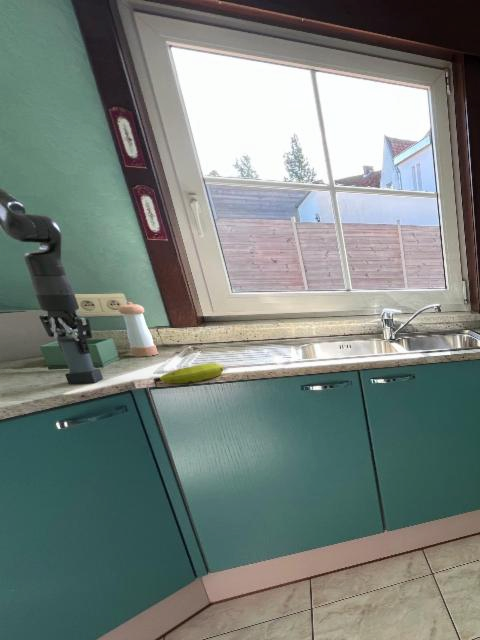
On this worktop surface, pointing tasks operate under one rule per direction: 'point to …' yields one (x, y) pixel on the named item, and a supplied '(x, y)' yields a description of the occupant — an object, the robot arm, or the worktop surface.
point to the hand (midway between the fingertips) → (76, 352)
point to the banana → (192, 374)
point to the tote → (98, 352)
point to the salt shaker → (137, 330)
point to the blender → (78, 363)
